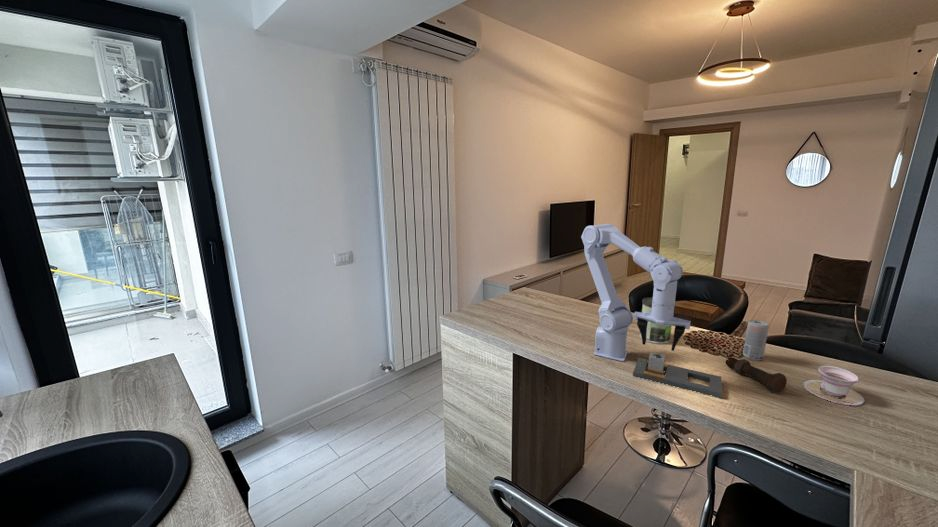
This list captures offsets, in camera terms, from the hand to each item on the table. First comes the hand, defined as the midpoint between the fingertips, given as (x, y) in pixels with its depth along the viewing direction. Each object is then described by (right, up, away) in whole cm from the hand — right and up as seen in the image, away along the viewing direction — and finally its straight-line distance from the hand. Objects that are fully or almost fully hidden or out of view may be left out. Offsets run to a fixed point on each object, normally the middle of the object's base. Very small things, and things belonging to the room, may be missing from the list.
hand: (658, 346), depth 110 cm
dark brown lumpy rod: (+27, -10, -1) cm, 28 cm away
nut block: (0, -9, +2) cm, 9 cm away
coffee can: (+12, -3, +26) cm, 29 cm away
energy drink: (+36, -6, +11) cm, 39 cm away
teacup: (+43, -11, -9) cm, 45 cm away
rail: (+5, -9, -1) cm, 11 cm away
